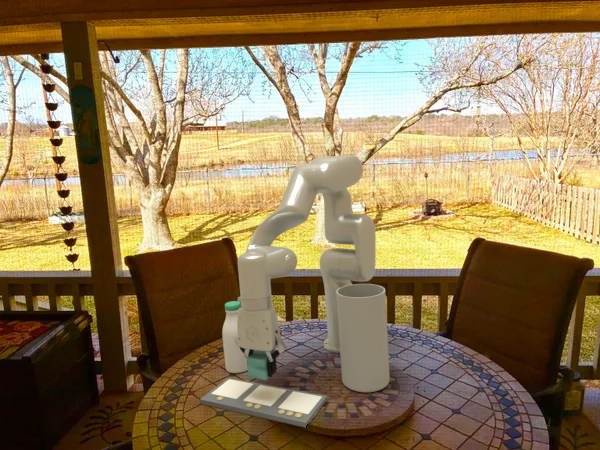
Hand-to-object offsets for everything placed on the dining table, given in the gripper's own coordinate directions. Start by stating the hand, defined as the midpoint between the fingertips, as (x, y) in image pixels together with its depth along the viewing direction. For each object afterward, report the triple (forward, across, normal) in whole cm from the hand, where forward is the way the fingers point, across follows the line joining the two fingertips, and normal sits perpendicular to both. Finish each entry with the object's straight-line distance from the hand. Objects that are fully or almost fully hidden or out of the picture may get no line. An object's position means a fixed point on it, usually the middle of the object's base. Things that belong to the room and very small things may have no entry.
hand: (262, 372), depth 109 cm
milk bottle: (+8, -17, +13) cm, 23 cm away
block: (+1, 0, 0) cm, 1 cm away
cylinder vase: (+8, +21, +17) cm, 28 cm away
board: (+8, 0, -1) cm, 8 cm away
